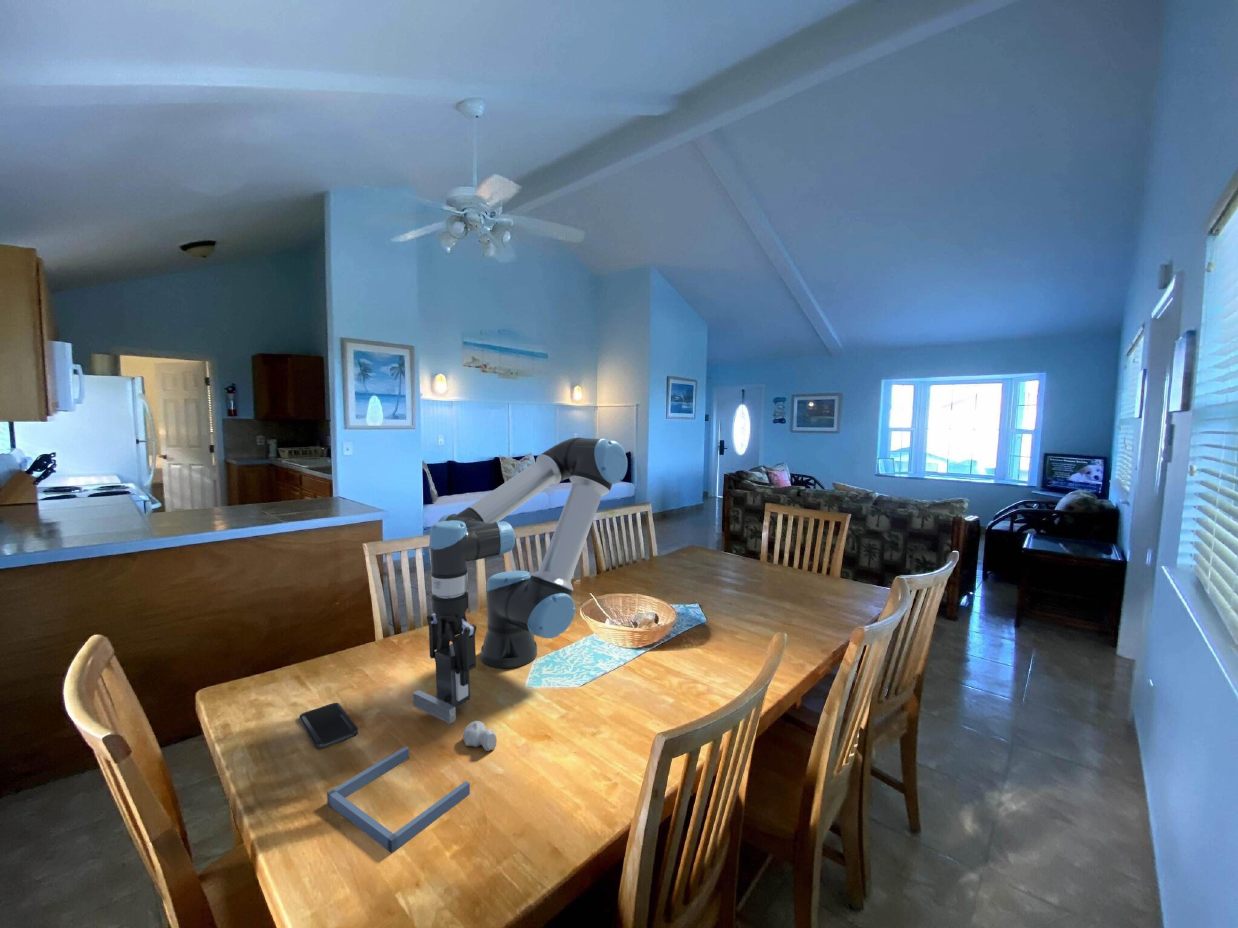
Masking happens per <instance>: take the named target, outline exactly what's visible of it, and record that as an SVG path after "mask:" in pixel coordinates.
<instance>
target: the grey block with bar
mask: <svg viewBox="0 0 1238 928" xmlns="http://www.w3.org/2000/svg"><path fill="white" fill-rule="evenodd" d="M436 650H437V649H436ZM436 650H435V659H434V661H435V660H436V662H435V681H436V684H435V686H436V694H435V695H434V696H433V695H431V694H428V693H426V692H424V691H422V690H420V689H417V690H415V691H414V692H413V693H412V703H413V704H412V705H413V707H415V708H417V709H419V710H421V711H423V712H425V713H427V714H429V715H431V716H433V717H435V718H437V719H439V720H442V721H443V722H445V723H447V724H452V723H453V722H455V721H456V718H457V717H456V709H457V708H459V707H460V706H462V705H464V704H466V703H467V702H468V701H470V700H471V681H470V680H471V678H470V676H471V675H470V673H469V684H468V696H467V697H465V698H463V699H461V700H460V701H457V700H456V678H455V671H457V670H458V668H457V663H456V658H455V653H454V648H453V643H452V642H451V643H450V644H449V646H447V647H444V648H442V649H439V650H437V651H436Z"/></svg>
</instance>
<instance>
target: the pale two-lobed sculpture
mask: <svg viewBox="0 0 1238 928" xmlns="http://www.w3.org/2000/svg"><path fill="white" fill-rule="evenodd" d="M462 735H463V736H462V739H463V741H464V743H465V745H466V746H467V747H477V748H478V747H480V746H482V747H483V749H484V750H485V751H488V752H489V751H493V750H494V749H495V748H496V747H497V735H496V733H495V731H494V730H493V729H490V728H489V729H487V727H486V724H485V723H484V722H482V721H480V720H475V721H471V722H469V724H468V725H467V726H466V727H465V728H464V730H463V734H462Z"/></svg>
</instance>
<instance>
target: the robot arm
mask: <svg viewBox="0 0 1238 928" xmlns="http://www.w3.org/2000/svg"><path fill="white" fill-rule="evenodd" d="M627 471H628V457H627V455H626V451H625V449H624V447H623V446H622V445H621V444H620V443H619V442H617V441H616V440H613V439H608V438H590V437H589V438H587V437H586V438H585V437H572V438H568V439H566V440H563V441H561V442H559V443H558V444H555V445H554V446H552V447H550V448H548V449H547V450H546V451H544V452H542V453H541V454H539V455H537V457H536V459H535V462H534V463H532V464H531V465H529V466H527V467H526V468H525V469H523V470H522V471H520V472H519V473H517V474H516V475H515V476H513V477H511V478H510V479H508V480H507V481H505V482H504V483H503V484H501V485H499V486H498V487H497V488H495V489H493V490H492V491H490V492H489V493H487V494H486V495H484V496H483V497H481V498H480V499H479V500H477V501H475V502H474V503H472V504H470V506H468V507H466V508H465V509H463V510H462V511H461V512H460V511H459V513H457V514H456V513H447V514H444V515H443V516H442V517H440V518H439V520H438V521H437V522H435V523H433V524H432V525H431V527H430V529H429V531H430V532H429V544H428V546H429V553H430V555H429V556H430V558H429V559H430V572H431V573H430V574H431V593H432V595H431V606H432V608H431V611H432V612H433V613H432V614H429V615H427V616H426V620H427V624H428V642H429V657H430V659H431V660H432V659H434V661H435V663H436V660H435V651H437V650H439V649H442V648H444V647H447V646H449V645H450V644H452V643H453V648H454V653H455V658H456V663H457V668H458V670H457V671H455V678H456V700H457V701H460V700H461V699H463V698H465V697H467V696H468V684H469V674H470V671H472V670H473V669H475V668H476V667H477V658H476V657H477V655H476V654H477V653H476V632H477V625H476V624H470V623H468V619H467V617H466V612H467V610H468V609H469V592H468V590H469V580H468V578H469V576H468V563H470V562H475V561H478V560H479V561H480V560H482V559H487V558H492V557H496V556H502V555H503V554H506V553H508V552H509V553H510V552H511V551H512V550H513V548H514V546H515V543H516V535H515V530H514V529H513V526H512V525H511V524H510V523H509V522H507V521H505V520H504V521H502V520H503V519H505V518H506V517H507V516H508V515H511V513H513V512H514V511H516V510H517V509H518V508H520V507H521V506H523V505H524V504H525V503H527V502H528V501H529V500H531V499H533V498H534V497H535V496H537V495H539V494H540V492H542V491H544V490H545V489H546V488H548V487H550V486H551V485H558V484H559V483H560V482H563V481H564V480H567V479H569V481H570V483H571V488H570V491H569V493H568V496H567V498H566V501H565V504H564V506H563V508H562V512H561V514H560V516H559V519H558V521H557V524H556V527H555V528H554V532H553V534H552V537H551V539H550V541H549V545H548V548H547V549H546V552H545V555H544V557H543V560H542V562H541V564H540V567H539V569H538V570H537V571H535V572H532V573H531V572H529V571H527V570H509V571H502V572H498V573H496V574H492V575H491V576H490V577H488V579H487V581H486V582H487V584H486V591H485V592H486V611H487V612H486V617H487V619H486V620H487V621H486V623H487V625H486V626H487V629H486V633H485V636H484V638H483V639H484V640H483V644H482V646H481V648H480V660H481V662H482V663H483V664H484V665H486V666H489V667H491V668H497V669H512V668H518V667H521V666H525V665H527V664H529V663H531V662H533V661H534V660H535V659H536V657H537V655H538V644H537V642H536V641H535V636H537V637H540V638H543V639H547V640H549V639H554V638H557V637H558V636H560V634H564V632H566V631H567V629H568V628H569V627H570V625H571V623H572V622H573V620H574V618H575V613H576V607H575V601H574V599H573V598H572V594H573V593H574V588H573V585H572V578H573V575H574V573H575V571H576V568H577V565H578V562H579V560H580V557H581V553H582V551H583V549H584V546H585V543H586V540H587V537H588V535H589V532H590V529H591V527H592V524H593V521H594V519H595V518H596V514H597V511H598V508H599V505H600V503H601V500H602V498H603V497H604V496H605V495H609V494H610V491H611V490H612V486H613V485H615V484H619V482H621V481H623V479H624V478H625V476H626V474H627ZM450 642H451V643H450Z"/></svg>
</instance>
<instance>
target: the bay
mask: <svg viewBox="0 0 1238 928" xmlns="http://www.w3.org/2000/svg"><path fill="white" fill-rule="evenodd" d="M408 759H410V748H409V747H407V746H404V747H402V748H401V749H399V750H397V751H396V752H394V753H392V754H390V755H389V756H387V757H385V758H384V759H382V760H380V761H377V763H375V764H373V765H372V766H370V767H368V768H367V769H364V770H363V771H361V772H360V773H358V774H356V775H354V776H353V777H351V778H349V779H347V780H345V781H344V782H342V783H341V784H340V785H338V786H336V787H334V788H332V789H331V790H329V791H328V792H326V802H327V803H326V804H327V805H328V806H330V807H331V808H333V810H335V811H336V812H338V813H339V814H340V815H341V816H343V817H344V818H345V819H346V820H347V821H349V822H350V823H352V824H353V825H355V826H356V828H359V830H361V831H362V832H363V833H365V834H366V835H367V836H369V837H370V838H371V839H372V840H374V841H375V842H377V843H378V844H379V845H380V846H381V847H383V848H384V849H385V850H387V851H388V852H390V853H391V854H393V853H394V852H396V851H397V850H398V849H400V848H401V847H402V846H404V845H405V844H407V843H408V842H409V841H410V840H411V839H412V838H414V837H416V836H417V835H418V834H419V833H421V832H423V830H425V829H426V828H427V827H429V826H430V825H431V824H432V823H434V822H435V821H436V820H438V819H439V818H440V817H441V816H443V815H444V814H446V813H447V812H448V811H449V810H451V809H452V808H453V807H455V806H456V805H457V804H458V803H460V802H461V801H462V800H464V799H465V798H467V796H469V795H470V794H471V792H470V791H471V790H470V789H471V788H470V785H471V784H470V782H469V781H467V780H465V781H464V782H462V783H461V784H460V785H458V786H457V787H455V788H454V789H453V790H451V791H450V792H448V793H447V794H446V795H444V796H442V798H440V799H439V800H438V801H436V802H435V803H434V804H432V805H430V806H429V807H427V808H426V809H425V810H424V811H422V812H421V813H419V815H417V816H416V817H414V818H413V819H411V820H410V821H408V823H405V825H404V826H402V827H401V828H399V829H398V830H396V831H395V832H394V833H393V832H392V831H391V830H389V829H388V828H387V827H385V826H384V825H382V824H381V823H380V822H379V821H377V820H375V818H373V817H371V816H370V815H369V814H368V813H367V812H365V811H364V810H362V809H361V808H359V807H358V806H356V805H355V804H354V803H353V802H351V801H350V800H348V799H347V798H346V797H348V796H350V795H351V794H353V793H354V792H356V791H358V790H359V789H361V788H363V787H364V786H366V785H368V784H369V783H371V782H372V781H374V780H376V779H377V778H379V777H380V776H382V775H384V774H386V773H387V772H389V771H390V770H392V769H394V768H395V767H397V766H399V765H401V764H402V763H403V762H405V761H407V760H408Z"/></svg>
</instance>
